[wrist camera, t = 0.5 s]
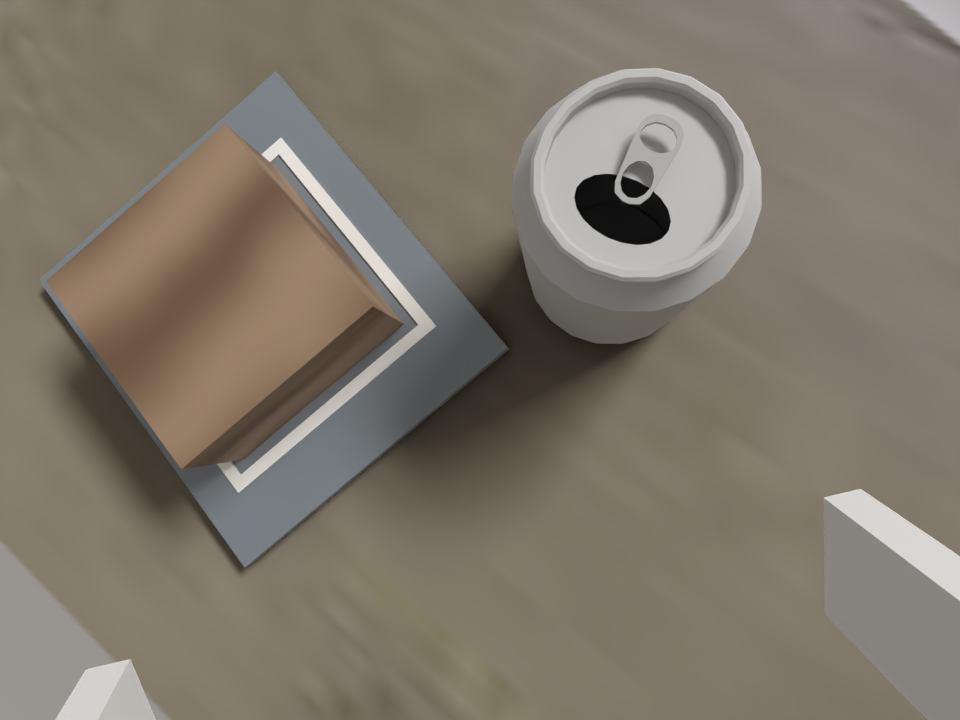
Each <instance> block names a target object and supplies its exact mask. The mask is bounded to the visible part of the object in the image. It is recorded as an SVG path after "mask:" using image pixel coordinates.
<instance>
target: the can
mask: <svg viewBox="0 0 960 720" xmlns="http://www.w3.org/2000/svg"><path fill="white" fill-rule="evenodd" d="M760 211H761V168H760V165H759V162H758V160H757V157H756V154H755V151H754V149H753V146H752V143H751V140H750V138H749V135H748V133H747V132H746V130H745V128H744V125H743V123H742V121H741V120H740V119H739V117H738V116H737V115H736V114H735V112H734V111H733V110H732V109H731V107H730V106H729V105H728V104H727V102H726V101H725V100H724V99H723V98H722V96H721V95H719V94H718V93H716V92H715V91H713V90H712V89H710V88H708V87H707V86H705V85H704V84H702V83H701V82H699V81H697V80H696V79H694V78H693V77H690V76H687V75H683V74H679V73H675V72H671V71H667V70H664V69H660V68H646V69H623V70H620V71H617V72H614V73H611V74H609V75H606V76H603V77H600V78H597V79H594V80H591V81H589V82H588V83H586V84H585V85H584V86H582V87H579V88H578V89H576V90H575V91H573V92H572V93H571V94H569V95H568V96H567V97H565V98H564V99H562V100H561V101H560V102H558V103H557V104H556V105H554V106H553V107H551V108H550V109H549V110H548V111H547V112H546V113H545V115H544V116H543V117H542V119H541V120H540V121H539V123H538V124H537V125H536V127H535V128H534V129H533V131H532V132H531V133H530V135H529V136H528V137H527V139H526V140H525V143H524V146H523V148H522V151H521V154H520V157H519V160H518V163H517V166H516V168H515V171H514V174H513V210H512V212H513V216H514V220H515V224H516V229H517V233H518V237H519V241H520V245H521V250H522V254H523V258H524V262H525V266H526V271H527V275H528V278H529V281H530V284H531V288H532V291H533V294H534V297H535V300H536V301H537V303H538V304H539V305H540V307H541V308H542V309H543V311H544V312H545V314H546V315H547V316H548V318H549V319H550V320H551V321H552V322H553V323H555V324H556V325H558V326H559V327H560V328H562V329H563V330H564V331H566V332H567V333H569V334H570V335H572V336H575V337H578V338H581V339H584V340H587V341H590V342H593V343H596V344H624V343H627V342H631V341H634V340H637V339H640V338H644V337H647V336H649V335H651V334H652V333H654V332H655V331H656V330H658V329H659V328H661V327H662V326H664V325H665V324H667V323H668V322H669V321H671V320H672V319H673V318H675V317H676V316H677V315H678V314H679V313H681V312H682V311H683V310H684V309H686V308H687V307H688V306H689V305H691V304H692V303H693V302H694V301H695V300H697V299H698V298H699V297H700V296H702V295H703V294H704V293H705V292H707V291H708V290H709V289H710V288H712V287H713V286H714V285H715V284H716V283H718V282H719V281H720V280H721V279H723V278H724V277H725V276H726V275H727V273H728V272H729V271H730V269H731V268H732V267H733V265H734V264H735V263H736V261H737V260H738V259H739V257H740V256H741V255H742V253H743V252H744V251H745V250H746V248H747V247H748V246H749V243H750V240H751V237H752V234H753V231H754V228H755V226H756V223H757V220H758V217H759V214H760Z"/></svg>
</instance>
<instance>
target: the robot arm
mask: <svg viewBox="0 0 960 720" xmlns="http://www.w3.org/2000/svg"><path fill="white" fill-rule="evenodd" d="M824 578H825V615H826V616H827V617H828V618H829V619H830V620H831V622H832V623H833V624H834V625H835V626H836V627H837V628H838V629H839V630H840V631H841V632H842V633H843V634H844V635H845V636H846V637H847V638H848V639H849V640H850V641H851V642H852V643H853V644H854V645H855V646H856V647H857V648H858V649H859V650H860V651H861V652H862V653H863V654H864V655H865V656H866V657H867V659H868V660H869V661H870V662H871V663H872V664H873V665H874V666H875V667H876V668H877V669H878V670H879V671H880V672H881V673H882V674H883V675H884V676H885V677H886V678H887V679H888V680H889V681H890V682H891V683H892V684H893V685H894V686H895V687H896V688H897V689H898V690H899V691H900V692H901V693H902V695H903V696H904V697H905V698H906V699H907V700H908V701H909V702H910V703H911V704H912V705H913V706H914V707H915V708H916V709H917V710H918V711H919V712H920V713H921V714H922V715H923V716H924V717H925V718H926V719H927V720H960V556H959V555H957V554H956V553H954V552H953V551H951V550H950V549H948V548H947V547H945V546H944V545H942V544H941V543H939V542H938V541H936V540H935V539H934V538H932V537H931V536H929V535H928V534H926V533H925V532H923V531H922V530H920V529H919V528H917V527H916V526H914V525H913V524H911V523H910V522H909V521H907V520H906V519H904V518H903V517H901V516H900V515H898V514H897V513H895V512H894V511H892V510H891V509H889V508H888V507H887V506H885V505H884V504H882V503H881V502H879V501H878V500H876V499H875V498H873V497H872V496H870V495H869V494H867V493H866V492H864V491H863V490H862V489H858V490H854V491H850V492H845V493H841V494H837V495H833V496H828V497H824ZM55 720H156V719H155V716H154V714H153V712H152V709H151V707H150V705H149V702H148V700H147V697H146V695H145V693H144V690H143V688H142V686H141V683H140V681H139V679H138V676H137V674H136V671H135V669H134V667H133V664H132V662H131V660H130V659H129V660H125V661H120V662H116V663H112V664H107V665H103V666H99V667H95V668H91V669H87V670H86V671H85V672H84V674H83V676H82V677H81V679H80V680H79V682H78V684H77V685H76V687H75V688H74V690H73V692H72V694H71V695H70V697H69V698H68V700H67V702H66V703H65V705H64V706H63V708H62V710H61V711H60V713H59V714H58V716H57V718H56V719H55Z"/></svg>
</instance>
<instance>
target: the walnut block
mask: <svg viewBox="0 0 960 720" xmlns="http://www.w3.org/2000/svg"><path fill="white" fill-rule="evenodd" d="M46 282H47V283H48V285H49V286H50V287H51V289H52V290H53V292H54V293H55V294H56V296H57V297H58V299H59V300H60V301H61V303H62V304H63V306H64V307H65V308H66V310H67V311H68V312H69V314H70V315H71V317H72V318H73V319H74V321H75V322H76V324H77V325H78V326H79V328H80V329H81V331H82V332H83V333H84V335H85V336H86V337H87V339H88V340H89V342H90V343H91V344H92V346H93V347H94V349H95V350H96V351H97V353H98V354H99V356H100V357H101V358H102V360H103V361H104V363H105V364H106V365H107V367H108V368H109V369H110V371H111V372H112V374H113V375H114V376H115V378H116V379H117V381H118V382H119V383H120V385H121V386H122V388H123V389H124V390H125V392H126V393H127V395H128V396H129V397H130V399H131V400H132V401H133V403H134V404H135V406H136V407H137V408H138V410H139V411H140V413H141V414H142V415H143V417H144V418H145V420H146V421H147V422H148V424H149V425H150V427H151V428H152V429H153V431H154V432H155V433H156V435H157V436H158V438H159V439H160V440H161V442H162V443H163V445H164V446H165V447H166V449H167V450H168V452H169V453H170V454H171V456H172V457H173V459H174V460H175V461H176V463H177V464H178V465H179V467H180V468H181V469H187V468H194V467H200V466H206V465H213V464H219V463H226V462H232V461H239V460H244V459H245V458H246V457H247V456H248V455H249V454H251V453H252V452H253V451H254V450H255V449H257V448H258V447H259V446H260V445H261V444H262V443H264V442H265V441H266V440H267V439H268V438H270V437H271V436H272V435H273V434H274V433H275V432H277V431H278V430H279V429H280V428H281V427H283V426H284V425H285V424H286V423H287V422H288V421H290V420H291V419H292V418H293V417H294V416H296V415H297V414H298V413H299V412H300V411H301V410H303V409H304V408H305V407H306V406H307V405H309V404H310V403H311V402H312V401H313V400H314V399H316V398H317V397H318V396H319V395H320V394H322V393H323V392H324V391H325V390H326V389H327V388H329V387H330V386H331V385H332V384H333V383H335V382H336V381H337V380H338V379H339V378H340V377H342V376H343V375H344V374H345V373H346V372H348V371H349V370H350V369H351V368H352V367H353V366H355V365H356V364H357V363H358V362H359V361H361V360H362V359H363V358H364V357H365V356H366V355H368V354H369V353H370V352H371V351H372V350H373V349H375V348H376V347H377V346H378V345H379V344H381V343H382V342H383V341H384V340H385V339H386V338H388V337H389V336H390V335H391V334H392V333H394V332H395V331H396V330H397V329H398V328H399V327H401V326H402V325H403V324H404V323H403V322H402V321H401V320H400V318H399V317H398V316H397V315H396V313H395V312H394V311H393V310H392V309H391V307H390V306H389V305H388V304H387V302H386V301H385V300H384V299H383V297H382V296H381V295H380V294H379V293H378V291H377V290H376V289H375V288H374V286H373V285H372V284H371V283H370V281H369V280H368V279H367V278H366V277H365V275H364V274H363V273H362V272H361V270H360V269H359V268H358V267H357V265H356V264H355V263H354V262H353V261H352V259H351V258H350V257H349V256H348V254H347V253H346V252H345V251H344V249H343V248H342V247H341V246H340V245H339V243H338V242H337V241H336V240H335V238H334V237H333V236H332V235H331V234H330V232H329V231H328V230H327V229H326V227H325V226H324V225H323V224H322V222H321V221H320V220H319V219H318V218H317V216H316V215H315V214H314V213H313V211H312V210H311V209H310V208H309V206H308V205H307V204H306V203H305V202H304V200H303V199H302V198H301V197H300V195H299V194H298V193H297V192H296V190H295V189H294V188H293V187H292V186H291V184H290V183H289V182H288V181H287V179H286V178H285V177H284V176H283V175H282V173H281V172H280V171H279V170H278V169H277V168H276V167H275V166H274V165H273V164H272V163H270V162H269V161H268V160H267V159H266V158H265V157H263V156H262V155H261V154H260V153H259V152H258V151H256V150H255V149H254V148H253V147H252V146H251V145H249V144H248V143H247V142H246V141H245V140H244V139H242V138H241V137H240V136H239V135H238V134H237V133H235V132H234V131H233V130H232V129H231V128H230V127H228V126H227V125H226V124H224V125H223V126H221V127H220V128H219V129H218V130H217V131H216V132H215V133H214V134H212V135H211V136H210V137H209V138H208V139H207V140H206V141H204V142H203V143H202V144H201V145H200V146H199V147H198V148H196V149H195V150H194V151H193V152H192V153H191V154H190V155H189V156H187V157H186V158H185V159H184V160H183V161H182V162H181V163H179V164H178V165H177V166H176V167H175V168H174V169H173V170H171V171H170V172H169V173H168V174H167V175H166V176H165V177H164V178H162V179H161V180H160V181H159V182H158V183H157V184H156V185H154V186H153V187H152V188H151V189H150V190H149V191H148V192H146V193H145V194H144V195H143V196H142V197H141V198H140V199H139V200H137V201H136V202H135V203H134V204H133V205H132V206H131V207H129V208H128V209H127V210H126V211H125V212H124V213H123V214H121V215H120V216H119V217H118V218H117V219H116V220H115V221H114V222H112V223H111V224H110V225H109V226H108V227H107V228H106V229H104V230H103V231H102V232H101V233H100V234H99V235H98V236H96V237H95V238H94V239H93V240H92V241H91V242H90V243H89V244H87V245H86V246H85V247H84V248H83V249H82V250H81V251H79V252H78V253H77V254H76V255H75V256H74V257H73V258H71V259H70V260H69V261H68V262H67V263H66V264H65V265H64V266H62V267H61V268H60V269H59V270H58V271H57V272H56V273H54V274H53V275H52V276H51V277H50V278H49V279H48V280H46Z"/></svg>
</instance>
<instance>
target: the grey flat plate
mask: <svg viewBox="0 0 960 720" xmlns="http://www.w3.org/2000/svg"><path fill="white" fill-rule="evenodd" d="M224 124H226V125H227V126H228V127H230V128H231V129H232V130H233V131H234V132H235V133H237V134H238V135H239V136H240V137H241V138H242V139H244V140H245V141H246V142H247V143H248V144H249V145H251V146H252V147H253V148H254V149H255V150H256V151H258V152H259V153H260V154H261V155H262V156H263V157H265V158H266V159H267V160H268V161H269V162H270V163H272V164H273V165H274V166H275V167H276V168H277V169H278V170H279V171H280V172H281V173H282V175H283V176H284V177H285V178H286V179H287V181H288V182H289V183H290V184H291V186H292V187H293V188H294V189H295V190H296V192H297V193H298V194H299V195H300V197H301V198H302V199H303V200H304V202H305V203H306V204H307V205H308V206H309V208H310V209H311V210H312V211H313V213H314V214H315V215H316V216H317V218H318V219H319V220H320V221H321V222H322V224H323V225H324V226H325V227H326V229H327V230H328V231H329V232H330V234H331V235H332V236H333V237H334V238H335V240H336V241H337V242H338V243H339V245H340V246H341V247H342V248H343V249H344V251H345V252H346V253H347V254H348V256H349V257H350V258H351V259H352V261H353V262H354V263H355V264H356V265H357V267H358V268H359V269H360V270H361V272H362V273H363V274H364V275H365V277H366V278H367V279H368V280H369V281H370V283H371V284H372V285H373V286H374V288H375V289H376V290H377V291H378V293H379V294H380V295H381V296H382V297H383V299H384V300H385V301H386V302H387V304H388V305H389V306H390V307H391V309H392V310H393V311H394V312H395V313H396V315H397V316H398V317H399V318H400V320H401V321H402V322H403V323H404V324H403V325H402V326H401V327H399V328H398V329H397V330H396V331H395V332H394V333H392V334H391V335H390V336H389V337H388V338H386V339H385V340H384V341H383V342H382V343H381V344H379V345H378V346H377V347H376V348H375V349H373V350H372V351H371V352H370V353H369V354H368V355H366V356H365V357H364V358H363V359H362V360H361V361H359V362H358V363H357V364H356V365H355V366H353V367H352V368H351V369H350V370H349V371H348V372H346V373H345V374H344V375H343V376H342V377H340V378H339V379H338V380H337V381H336V382H335V383H333V384H332V385H331V386H330V387H329V388H327V389H326V390H325V391H324V392H323V393H322V394H320V395H319V396H318V397H317V398H316V399H314V400H313V401H312V402H311V403H310V404H309V405H307V406H306V407H305V408H304V409H303V410H301V411H300V412H299V413H298V414H297V415H296V416H294V417H293V418H292V419H291V420H290V421H288V422H287V423H286V424H285V425H284V426H283V427H281V428H280V429H279V430H278V431H277V432H275V433H274V434H273V435H272V436H271V437H270V438H268V439H267V440H266V441H265V442H264V443H262V444H261V445H260V446H259V447H258V448H257V449H255V450H254V451H253V452H252V453H251V454H249V455H248V456H247V457H246V458H245V459H244V460H239V461H232V462H226V463H219V464H213V465H206V466H200V467H194V468H187V469H181V468H180V467H179V465H178V464H177V463H176V461H175V460H174V459H173V457H172V456H171V454H170V453H169V452H168V450H167V449H166V447H165V446H164V445H163V443H162V442H161V440H160V439H159V438H158V436H157V435H156V433H155V432H154V431H153V429H152V428H151V427H150V425H149V424H148V422H147V421H146V420H145V418H144V417H143V415H142V414H141V413H140V411H139V410H138V408H137V407H136V406H135V404H134V403H133V401H132V400H131V399H130V397H129V396H128V395H127V393H126V392H125V390H124V389H123V388H122V386H121V385H120V383H119V382H118V381H117V379H116V378H115V376H114V375H113V374H112V372H111V371H110V369H109V368H108V367H107V365H106V364H105V363H104V361H103V360H102V358H101V357H100V356H99V354H98V353H97V351H96V350H95V349H94V347H93V346H92V344H91V343H90V342H89V340H88V339H87V337H86V336H85V335H84V333H83V332H82V331H81V329H80V328H79V326H78V325H77V324H76V322H75V321H74V319H73V318H72V317H71V315H70V314H69V312H68V311H67V310H66V308H65V307H64V306H63V304H62V303H61V301H60V300H59V299H58V297H57V296H56V294H55V293H54V292H53V290H52V289H51V287H50V286H49V285H48V283H47V282H46V280H48V279H49V278H50V277H51V276H52V275H53V274H54V273H56V272H57V271H58V270H59V269H60V268H61V267H62V266H64V265H65V264H66V263H67V262H68V261H69V260H70V259H71V258H73V257H74V256H75V255H76V254H77V253H78V252H79V251H81V250H82V249H83V248H84V247H85V246H86V245H87V244H89V243H90V242H91V241H92V240H93V239H94V238H95V237H96V236H98V235H99V234H100V233H101V232H102V231H103V230H104V229H106V228H107V227H108V226H109V225H110V224H111V223H112V222H114V221H115V220H116V219H117V218H118V217H119V216H120V215H121V214H123V213H124V212H125V211H126V210H127V209H128V208H129V207H131V206H132V205H133V204H134V203H135V202H136V201H137V200H139V199H140V198H141V197H142V196H143V195H144V194H145V193H146V192H148V191H149V190H150V189H151V188H152V187H153V186H154V185H156V184H157V183H158V182H159V181H160V180H161V179H162V178H164V177H165V176H166V175H167V174H168V173H169V172H170V171H171V170H173V169H174V168H175V167H176V166H177V165H178V164H179V163H181V162H182V161H183V160H184V159H185V158H186V157H187V156H189V155H190V154H191V153H192V152H193V151H194V150H195V149H196V148H198V147H199V146H200V145H201V144H202V143H203V142H204V141H206V140H207V139H208V138H209V137H210V136H211V135H212V134H214V133H215V132H216V131H217V130H218V129H219V128H220V127H221V126H223V125H224ZM39 281H40V283H41V284H42V286H43V287H44V288H45V290H46V291H47V293H48V294H49V295H50V297H51V298H52V300H53V301H54V302H55V304H56V305H57V307H58V308H59V309H60V311H61V312H62V314H63V315H64V316H65V318H66V319H67V321H68V322H69V323H70V325H71V326H72V328H73V329H74V330H75V332H76V333H77V334H78V336H79V337H80V339H81V340H82V341H83V343H84V344H85V346H86V347H87V348H88V350H89V351H90V353H91V354H92V355H93V357H94V358H95V360H96V361H97V362H98V364H99V365H100V367H101V368H102V369H103V371H104V372H105V374H106V375H107V376H108V378H109V379H110V381H111V382H112V383H113V385H114V386H115V387H116V389H117V390H118V392H119V393H120V394H121V396H122V397H123V399H124V400H125V401H126V403H127V404H128V406H129V407H130V408H131V410H132V411H133V413H134V414H135V415H136V417H137V418H138V420H139V421H140V422H141V424H142V425H143V427H144V428H145V429H146V431H147V432H148V434H149V435H150V436H151V438H152V439H153V441H154V442H155V443H156V445H157V446H158V447H159V449H160V450H161V452H162V453H163V454H164V456H165V457H166V459H167V460H168V461H169V463H170V464H171V466H172V467H173V468H174V470H175V471H176V473H177V474H178V475H179V477H180V478H181V480H182V481H183V482H184V484H185V485H186V487H187V488H188V489H189V491H190V492H191V494H192V495H193V496H194V498H195V499H196V500H197V502H198V503H199V505H200V506H201V507H202V509H203V510H204V512H205V513H206V514H207V516H208V517H209V519H210V520H211V521H212V523H213V524H214V526H215V527H216V528H217V530H218V531H219V533H220V534H221V535H222V537H223V538H224V540H225V541H226V542H227V544H228V545H229V547H230V548H231V549H232V551H233V552H234V553H235V555H236V556H237V558H238V559H239V560H240V562H241V563H242V565H243V566H244V567H247V566H249V565H251V564H253V563H254V562H256V561H257V560H258V559H259V558H260V557H262V556H263V555H264V554H265V553H266V552H268V551H269V550H270V549H271V548H272V547H274V546H275V545H276V544H277V543H278V542H280V541H281V540H282V539H283V538H284V537H285V536H287V535H288V534H289V533H290V532H291V531H293V530H294V529H295V528H296V527H297V526H299V525H300V524H301V523H302V522H303V521H305V520H306V519H307V518H308V517H309V516H311V515H312V514H313V513H314V512H315V511H317V510H318V509H319V508H320V507H321V506H323V505H324V504H325V503H326V502H327V501H329V500H330V499H331V498H332V497H333V496H335V495H336V494H337V493H338V492H339V491H340V490H342V489H343V488H344V487H345V486H346V485H348V484H349V483H350V482H351V481H352V480H354V479H355V478H356V477H357V476H358V475H360V474H361V473H362V472H363V471H364V470H366V469H367V468H368V467H369V466H370V465H372V464H373V463H374V462H375V461H376V460H378V459H379V458H380V457H381V456H382V455H384V454H385V453H386V452H387V451H388V450H390V449H391V448H392V447H393V446H394V445H395V444H397V443H398V442H399V441H400V440H401V439H403V438H404V437H405V436H406V435H407V434H409V433H410V432H411V431H412V430H413V429H415V428H416V427H417V426H418V425H419V424H421V423H422V422H423V421H424V420H425V419H427V418H428V417H429V416H430V415H431V414H433V413H434V412H435V411H436V410H437V409H439V408H440V407H441V406H442V405H443V404H445V403H446V402H447V401H448V400H449V399H450V398H452V397H453V396H454V395H455V394H456V393H458V392H459V391H460V390H461V389H462V388H464V387H465V386H466V385H467V384H468V383H470V382H471V381H472V380H473V379H474V378H476V377H477V376H478V375H479V374H480V373H482V372H483V371H484V370H485V369H486V368H488V367H489V366H490V365H491V364H492V363H494V362H495V361H496V360H497V359H498V358H500V357H501V356H502V355H503V354H504V353H505V352H507V351H508V350H509V348H508V347H507V346H506V345H505V344H504V342H503V341H502V340H501V339H500V338H499V336H498V335H497V334H496V333H495V332H494V330H493V329H492V328H491V327H490V326H489V324H488V323H487V322H486V321H485V320H484V318H483V317H482V316H481V315H480V314H479V313H478V311H477V310H476V309H475V308H474V307H473V305H472V304H471V303H470V302H469V301H468V299H467V298H466V297H465V296H464V295H463V293H462V292H461V291H460V290H459V289H458V287H457V286H456V285H455V284H454V283H453V281H452V280H451V279H450V278H449V277H448V276H447V274H446V273H445V272H444V271H443V270H442V268H441V267H440V266H439V265H438V264H437V262H436V261H435V260H434V259H433V258H432V256H431V255H430V254H429V253H428V252H427V250H426V249H425V248H424V247H423V246H422V244H421V243H420V242H419V241H418V240H417V239H416V237H415V236H414V235H413V234H412V233H411V231H410V230H409V229H408V228H407V227H406V225H405V224H404V223H403V222H402V221H401V219H400V218H399V217H398V216H397V215H396V213H395V212H394V211H393V210H392V209H391V207H390V206H389V205H388V204H387V203H386V202H385V200H384V199H383V198H382V197H381V196H380V194H379V193H378V192H377V191H376V190H375V188H374V187H373V186H372V185H371V184H370V182H369V181H368V180H367V179H366V178H365V176H364V175H363V174H362V173H361V172H360V170H359V169H358V168H357V167H356V166H355V165H354V163H353V162H352V161H351V160H350V159H349V157H348V156H347V155H346V154H345V153H344V151H343V150H342V149H341V148H340V147H339V145H338V144H337V143H336V142H335V141H334V139H333V138H332V137H331V136H330V135H329V133H328V132H327V131H326V130H325V129H324V128H323V126H322V125H321V124H320V123H319V122H318V120H317V119H316V118H315V117H314V116H313V114H312V113H311V112H310V111H309V110H308V108H307V107H306V106H305V105H304V104H303V102H302V101H301V100H300V99H299V98H298V96H297V95H296V94H295V93H294V92H293V91H292V89H291V88H290V87H289V86H288V85H287V83H286V82H285V81H284V80H283V79H282V77H281V76H280V75H279V74H278V73H277V71H276V72H275V73H273V74H272V75H271V76H270V77H269V78H268V79H267V80H265V81H264V82H263V83H262V84H261V85H260V86H259V87H258V88H256V89H255V90H254V91H253V92H252V93H251V94H250V95H248V96H247V97H246V98H245V99H244V100H243V101H242V102H240V103H239V104H238V105H237V106H236V107H235V108H234V109H233V110H231V111H230V112H229V113H228V114H227V115H226V116H225V117H223V118H222V119H221V120H220V121H219V122H218V123H217V124H216V125H214V126H213V127H212V128H211V129H210V130H209V131H208V132H206V133H205V134H204V135H203V136H202V137H201V138H200V139H198V140H197V141H196V142H195V143H194V144H193V145H192V146H191V147H189V148H188V149H187V150H186V151H185V152H184V153H183V154H181V155H180V156H179V157H178V158H177V159H176V160H175V161H173V162H172V163H171V164H170V165H169V166H168V167H167V168H166V169H164V170H163V171H162V172H161V173H160V174H159V175H158V176H156V177H155V178H154V179H153V180H152V181H151V182H150V183H149V184H147V185H146V186H145V187H144V188H143V189H142V190H141V191H139V192H138V193H137V194H136V195H135V196H134V197H133V198H131V199H130V200H129V201H128V202H127V203H126V204H125V205H124V206H122V207H121V208H120V209H119V210H118V211H117V212H116V213H114V214H113V215H112V216H111V217H110V218H109V219H108V220H106V221H105V222H104V223H103V224H102V225H101V226H100V227H99V228H97V229H96V230H95V231H94V232H93V233H92V234H91V235H89V236H88V237H87V238H86V239H85V240H84V241H83V242H81V243H80V244H79V245H78V246H77V247H76V248H75V249H74V250H72V251H71V252H70V253H69V254H68V255H67V256H66V257H64V258H63V259H62V260H61V261H60V262H59V263H58V264H57V265H55V266H54V267H53V268H52V269H51V270H50V271H49V272H47V273H46V274H45V275H44V276H43V277H42V278H41V279H39Z"/></svg>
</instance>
